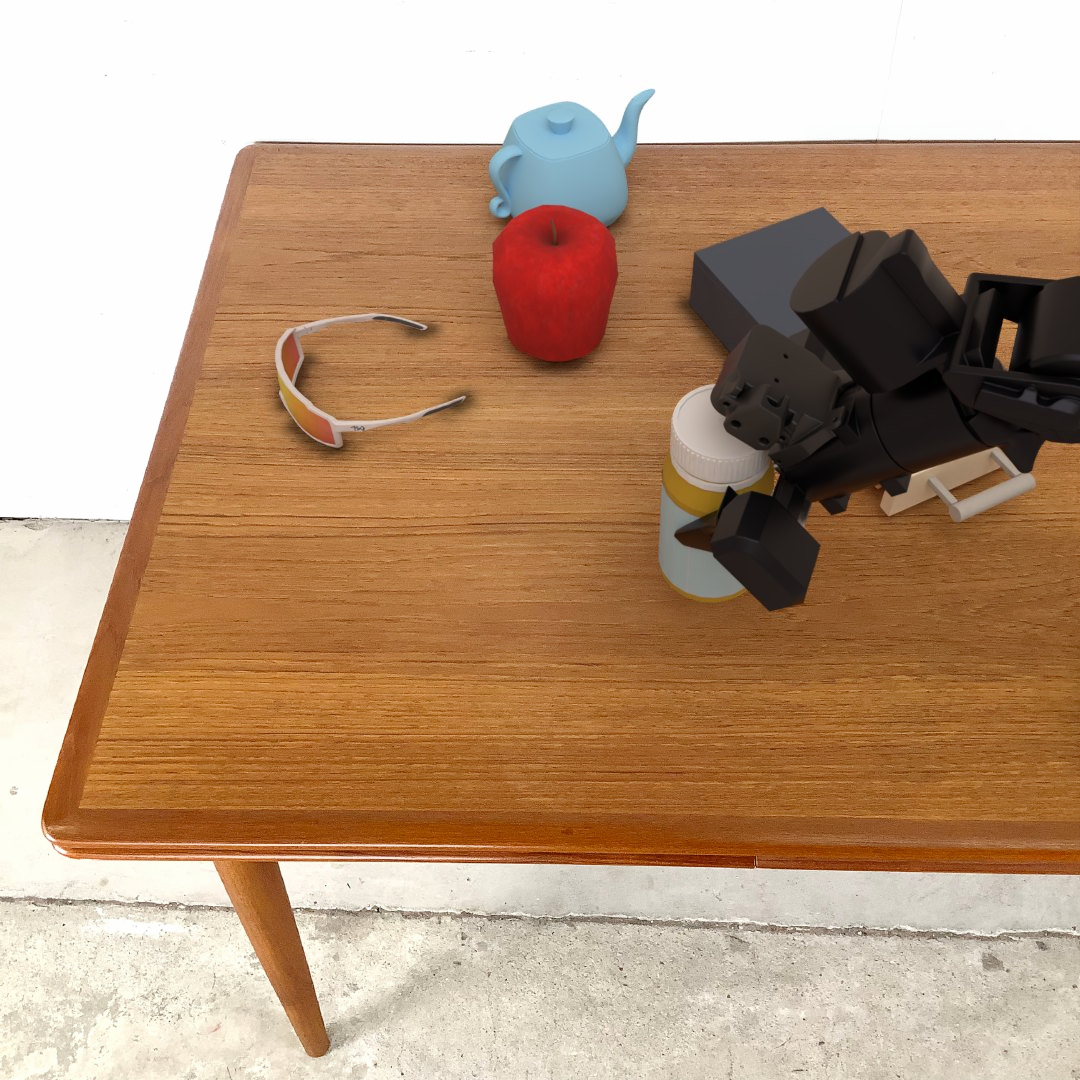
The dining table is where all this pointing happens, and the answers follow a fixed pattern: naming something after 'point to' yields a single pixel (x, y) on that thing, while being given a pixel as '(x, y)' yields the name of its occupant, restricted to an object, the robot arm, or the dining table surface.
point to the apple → (555, 281)
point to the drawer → (958, 474)
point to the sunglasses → (303, 410)
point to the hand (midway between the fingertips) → (695, 497)
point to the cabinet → (759, 275)
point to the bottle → (703, 493)
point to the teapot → (566, 161)
